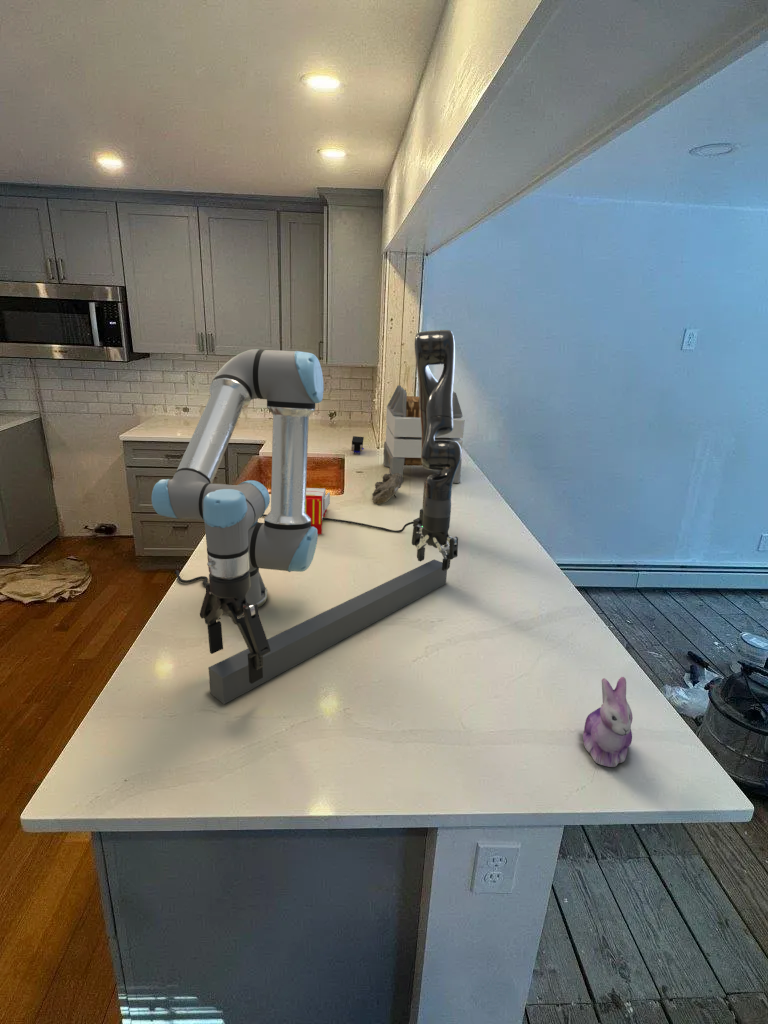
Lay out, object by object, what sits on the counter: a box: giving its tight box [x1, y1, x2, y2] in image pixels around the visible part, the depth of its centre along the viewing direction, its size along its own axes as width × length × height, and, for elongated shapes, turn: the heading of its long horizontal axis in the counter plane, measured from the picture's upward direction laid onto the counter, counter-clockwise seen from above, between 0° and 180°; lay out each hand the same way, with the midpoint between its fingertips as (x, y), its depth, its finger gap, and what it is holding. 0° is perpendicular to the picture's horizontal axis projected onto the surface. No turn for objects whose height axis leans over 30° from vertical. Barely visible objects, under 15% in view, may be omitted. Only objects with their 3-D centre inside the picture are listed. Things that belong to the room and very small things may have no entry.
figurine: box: [582, 676, 633, 768], centre depth 102 cm, size 9×10×15 cm
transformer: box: [383, 384, 465, 484], centre depth 268 cm, size 34×33×41 cm
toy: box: [305, 487, 331, 535], centre depth 207 cm, size 12×13×30 cm
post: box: [208, 559, 448, 705], centre depth 139 cm, size 75×5×6 cm, turn 139°
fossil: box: [371, 472, 404, 505], centre depth 236 cm, size 22×10×15 cm
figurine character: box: [350, 435, 364, 455], centre depth 308 cm, size 7×8×15 cm
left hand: (235, 664), depth 115 cm, fingers open, 13 cm apart
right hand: (432, 565), depth 161 cm, fingers open, 8 cm apart
